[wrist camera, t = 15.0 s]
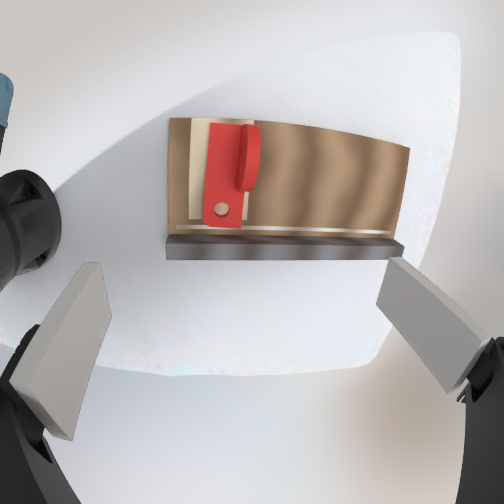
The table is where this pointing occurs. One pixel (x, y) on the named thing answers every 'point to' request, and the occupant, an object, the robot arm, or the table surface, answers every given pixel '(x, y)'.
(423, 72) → the table surface
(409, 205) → the table surface
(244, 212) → the board
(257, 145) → the bracket
